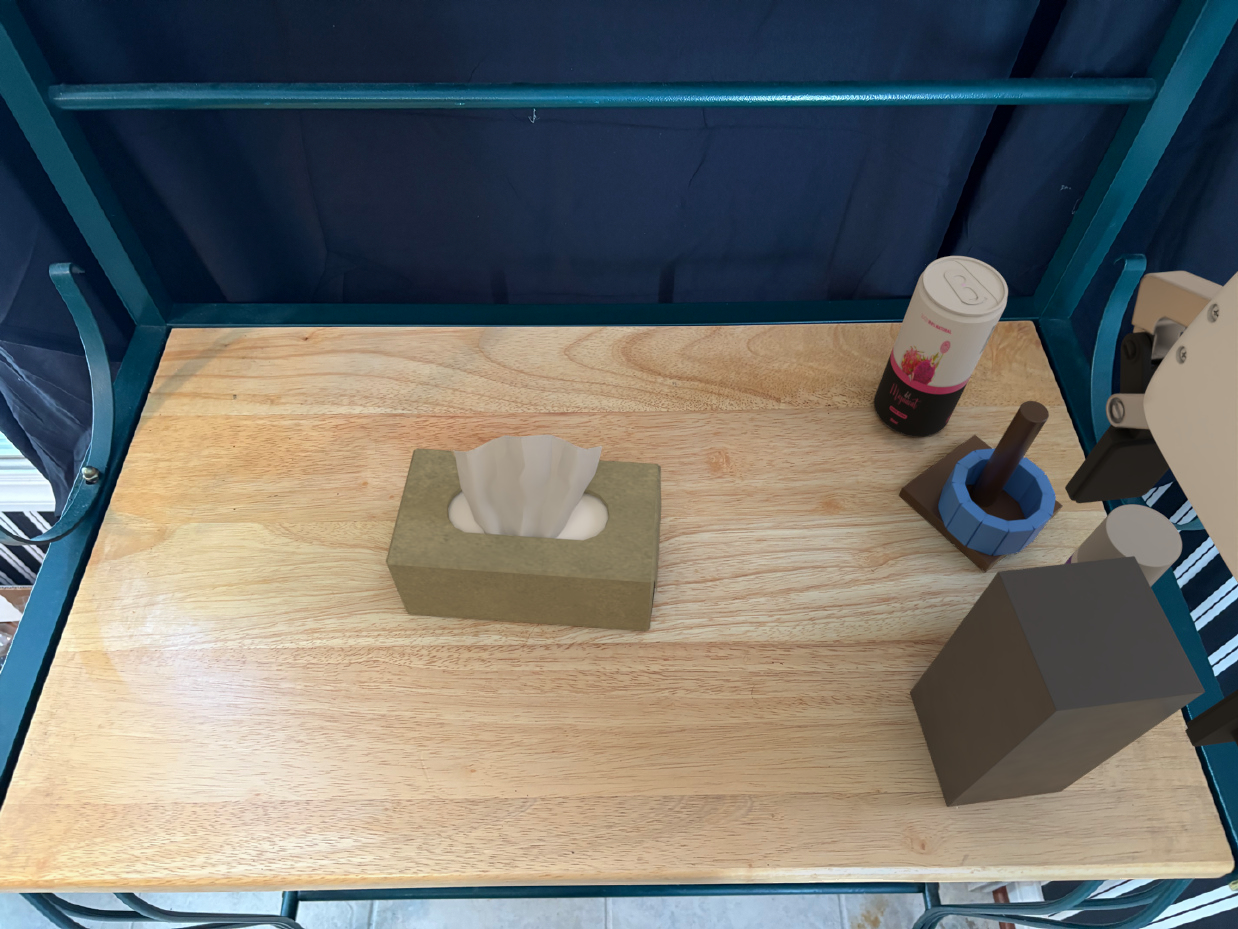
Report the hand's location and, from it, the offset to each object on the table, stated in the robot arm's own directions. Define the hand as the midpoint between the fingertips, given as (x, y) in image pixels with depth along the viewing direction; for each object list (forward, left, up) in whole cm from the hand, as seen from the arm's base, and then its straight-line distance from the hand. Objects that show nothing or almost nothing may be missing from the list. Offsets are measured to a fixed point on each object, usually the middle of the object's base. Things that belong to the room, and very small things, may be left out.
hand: (1160, 603), depth 33 cm
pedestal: (+1, -8, -32) cm, 33 cm away
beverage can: (+24, -26, -32) cm, 48 cm away
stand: (+14, -23, -32) cm, 42 cm away
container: (+3, -18, -32) cm, 37 cm away
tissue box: (+31, +9, -32) cm, 46 cm away
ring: (+13, -22, -31) cm, 40 cm away
